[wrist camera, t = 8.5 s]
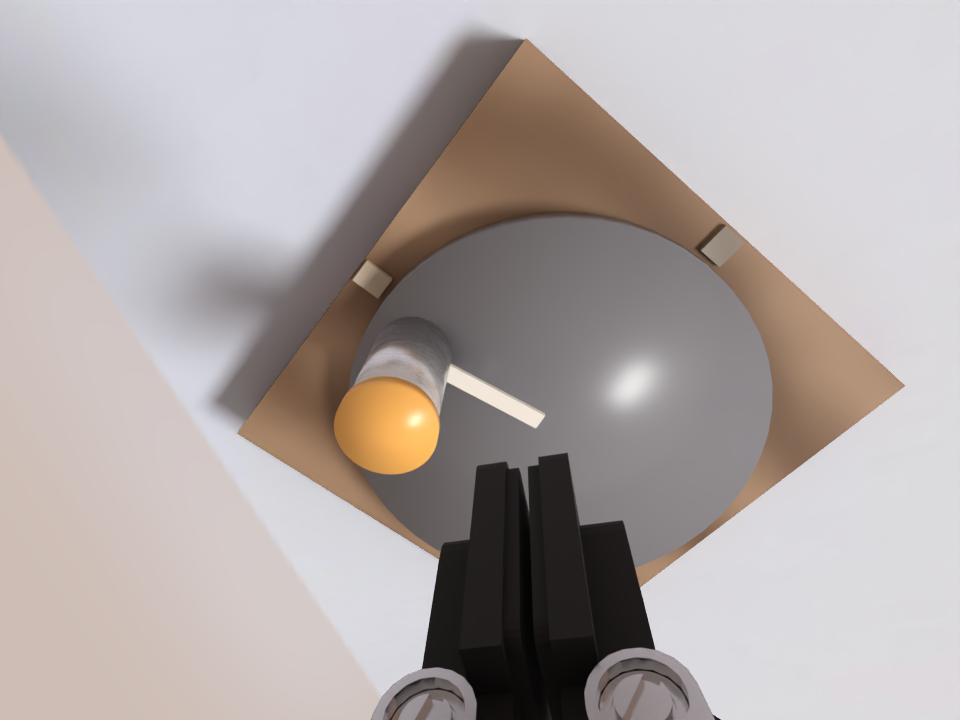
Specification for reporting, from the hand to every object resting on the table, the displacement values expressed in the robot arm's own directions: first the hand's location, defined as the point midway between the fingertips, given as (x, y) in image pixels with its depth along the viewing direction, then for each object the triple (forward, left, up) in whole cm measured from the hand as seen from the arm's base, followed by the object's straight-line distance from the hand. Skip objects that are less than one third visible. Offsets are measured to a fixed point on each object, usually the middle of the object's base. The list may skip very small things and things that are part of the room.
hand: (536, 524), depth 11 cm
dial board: (-4, -5, -16) cm, 17 cm away
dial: (-4, -5, -14) cm, 15 cm away
